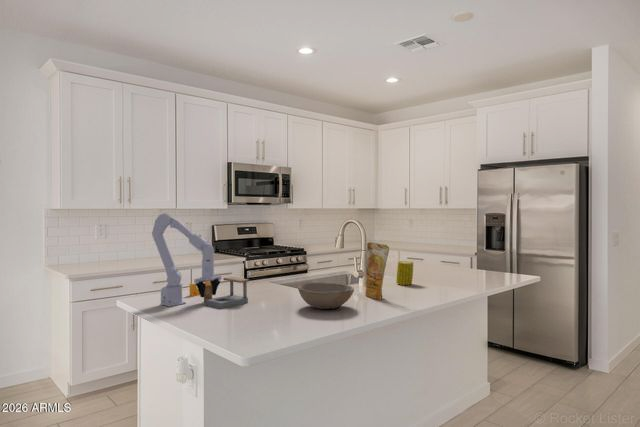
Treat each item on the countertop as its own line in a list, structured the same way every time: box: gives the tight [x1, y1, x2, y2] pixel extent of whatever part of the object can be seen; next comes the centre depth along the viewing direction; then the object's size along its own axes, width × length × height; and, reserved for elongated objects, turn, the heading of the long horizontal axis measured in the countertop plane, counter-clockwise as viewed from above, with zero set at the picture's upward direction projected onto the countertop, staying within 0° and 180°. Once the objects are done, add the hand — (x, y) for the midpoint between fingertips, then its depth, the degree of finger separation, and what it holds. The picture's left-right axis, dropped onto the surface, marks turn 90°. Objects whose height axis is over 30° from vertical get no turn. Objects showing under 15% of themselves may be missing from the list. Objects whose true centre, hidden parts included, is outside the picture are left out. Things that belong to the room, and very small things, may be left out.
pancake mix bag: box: [365, 241, 390, 301], centre depth 227 cm, size 7×19×28 cm, turn 22°
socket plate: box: [205, 276, 250, 309], centre depth 212 cm, size 16×13×12 cm
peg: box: [203, 285, 213, 304], centre depth 216 cm, size 4×4×8 cm
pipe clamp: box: [189, 281, 211, 297], centre depth 236 cm, size 12×4×6 cm, turn 144°
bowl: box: [297, 282, 355, 310], centre depth 204 cm, size 26×26×10 cm
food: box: [395, 260, 414, 286], centre depth 264 cm, size 15×12×10 cm
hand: (208, 295), depth 216 cm, fingers open, 6 cm apart
